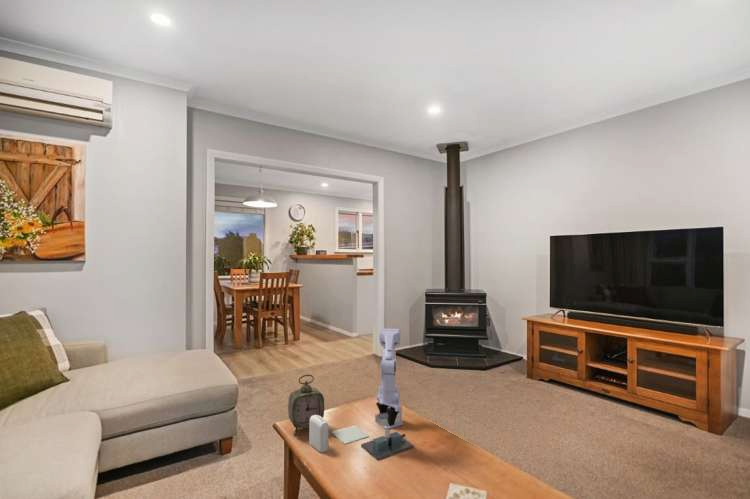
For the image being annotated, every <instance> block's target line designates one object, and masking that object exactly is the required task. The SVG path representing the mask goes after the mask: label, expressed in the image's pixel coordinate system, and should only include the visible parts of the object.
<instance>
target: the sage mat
mask: <svg viewBox="0 0 750 499" xmlns="http://www.w3.org/2000/svg"><path fill="white" fill-rule="evenodd" d="M331 434H333V436H334V437H336V438H337V440H339V441H340V442H341V443H342V444H343V445H348V444H350V443H353V442H358V441H360V440H365V439H367V438H369V437H370V436H369V435H368V434H367V433H366V432H364V431H363V430H362V429H360V428H359V427H358V426H357V425H356V424H354V425H350V426H347V427H344V428H340V429H336V430H333V431H331Z"/></svg>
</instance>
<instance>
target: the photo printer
mask: <svg viewBox="0 0 750 499" xmlns="http://www.w3.org/2000/svg"><path fill="white" fill-rule="evenodd" d="M308 429H309V430H308V431H309V433H308V434H309V435H308V436H309V439H308V441H309V442H308V443H309V444H310V446H312V447H313V448H314V449H315V450H317V451H318V452H320V453H325V452H327V451H328V450H329V423H328V422H327V420H326V419H325V418H324V417H323V418H322V417H321V416H319V415H313V416H311V418H310V421H309V427H308Z"/></svg>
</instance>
